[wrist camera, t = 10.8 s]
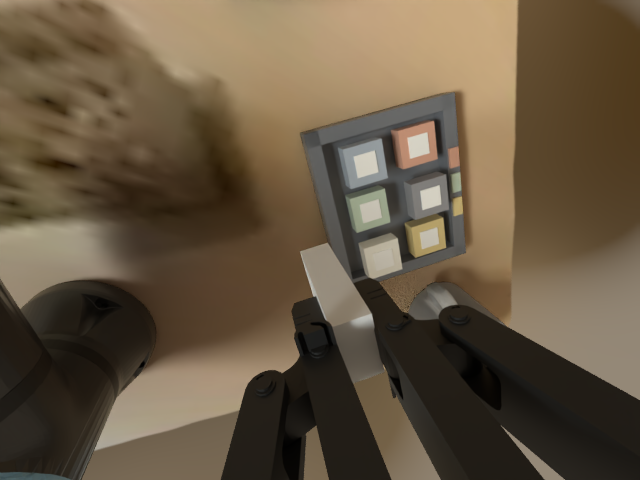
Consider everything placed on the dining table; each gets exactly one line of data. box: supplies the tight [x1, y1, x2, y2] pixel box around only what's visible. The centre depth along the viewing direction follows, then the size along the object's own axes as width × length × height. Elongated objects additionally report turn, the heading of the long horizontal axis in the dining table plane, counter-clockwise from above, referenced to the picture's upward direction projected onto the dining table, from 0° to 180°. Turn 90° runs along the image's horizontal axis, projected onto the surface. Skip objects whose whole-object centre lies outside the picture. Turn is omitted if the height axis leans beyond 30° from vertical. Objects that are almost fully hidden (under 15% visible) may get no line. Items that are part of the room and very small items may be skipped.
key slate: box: [338, 137, 388, 189], centre depth 37 cm, size 4×4×2 cm
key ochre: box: [405, 214, 446, 258], centre depth 44 cm, size 4×4×2 cm
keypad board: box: [300, 92, 466, 283], centre depth 42 cm, size 18×21×3 cm
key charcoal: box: [404, 172, 449, 220], centre depth 40 cm, size 4×4×2 cm
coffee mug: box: [408, 282, 506, 326], centre depth 47 cm, size 13×10×10 cm
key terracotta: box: [391, 120, 438, 169], centre depth 39 cm, size 4×4×2 cm
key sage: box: [345, 185, 390, 233], centre depth 41 cm, size 4×4×2 cm
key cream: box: [358, 233, 402, 279], centre depth 42 cm, size 4×4×2 cm
